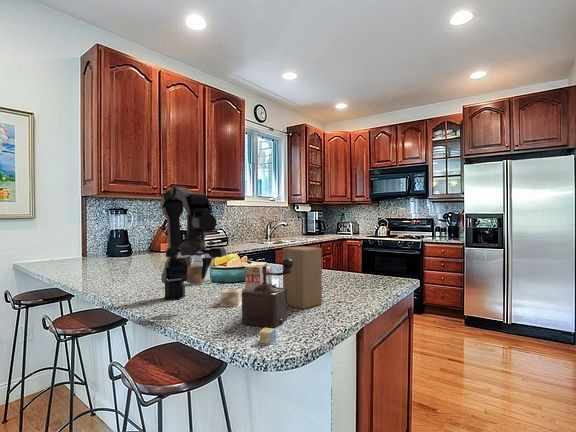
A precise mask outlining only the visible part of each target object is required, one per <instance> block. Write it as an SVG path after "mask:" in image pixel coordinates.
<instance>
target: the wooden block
mask: <svg viewBox="0 0 576 432" xmlns="http://www.w3.org/2000/svg"><path fill="white" fill-rule="evenodd" d="M286 258H287V259H291V260H293V266H292V267H291V273H288V274H287V275H285V274H284V275H282V288H287V307H292V308H297V309H301V310H306V309H309V308H312V307H316V306H320V305H322V304H323V287H322V286H323V282H322V281H323V280H322V279H323V278H322V277H323V273H322V272H323V271H322V269H323V267H322V265H323V263H322V248H321V247H313V246H301V245H300V246H293V247H292V246H291V247H290V246H289V247H283V248H282V261H283V260H284V259H286ZM283 269H284V268H283V267H282V270H283Z"/></svg>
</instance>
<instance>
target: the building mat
mask: <svg viewBox="0 0 576 432" xmlns="http://www.w3.org/2000/svg"><path fill="white" fill-rule="evenodd" d="M241 306H242V302H241V303H240V304H239V305H221V304H220V305H219V307H241Z"/></svg>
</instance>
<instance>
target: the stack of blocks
mask: <svg viewBox="0 0 576 432" xmlns="http://www.w3.org/2000/svg"><path fill="white" fill-rule="evenodd" d="M267 263H268V262H265V261H259V262H258V261H253V262H251V263H249V264H247V265H245V266H244V292H245V291H247V290H250V289H253V288H255V287H256V286H258V285H260V284H262V283H263V273H262V271H263V269H262V267H263V266H266V267H267V268H266V271H267V272H272V266H271V265H268V264H267ZM267 265H268V266H267ZM272 278H273V275H266V282H267V284H269V283H271V284H272V282H273V281H272ZM272 285H273V284H272Z"/></svg>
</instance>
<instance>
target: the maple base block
mask: <svg viewBox="0 0 576 432" xmlns="http://www.w3.org/2000/svg"><path fill="white" fill-rule="evenodd" d="M242 292H243V288H225V289H224V290H223V291H221V296H220V297H221V301H220V302H221V303H220V305H239V304H240V303H241V302H242Z"/></svg>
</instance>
